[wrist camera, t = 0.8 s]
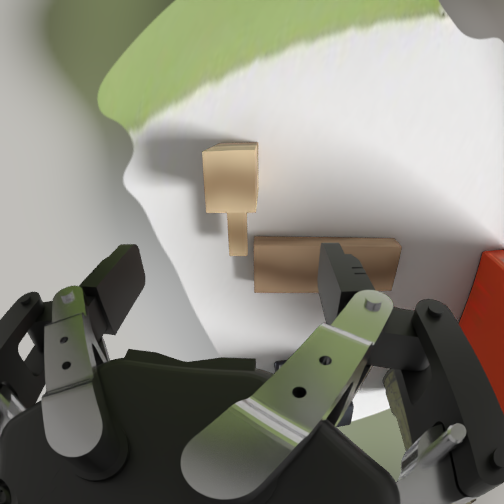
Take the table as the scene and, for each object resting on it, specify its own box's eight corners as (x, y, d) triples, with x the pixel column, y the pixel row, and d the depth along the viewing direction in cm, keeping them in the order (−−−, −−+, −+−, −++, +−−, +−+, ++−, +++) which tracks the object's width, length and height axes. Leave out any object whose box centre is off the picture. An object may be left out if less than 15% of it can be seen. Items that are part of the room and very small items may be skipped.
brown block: (254, 236, 32) (253, 245, 30) (394, 238, 31) (401, 246, 29) (255, 281, 34) (254, 292, 32) (384, 280, 34) (391, 290, 31)
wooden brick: (219, 143, 27) (202, 151, 20) (257, 142, 27) (254, 149, 20) (224, 240, 32) (212, 276, 25) (259, 240, 32) (256, 277, 25)
